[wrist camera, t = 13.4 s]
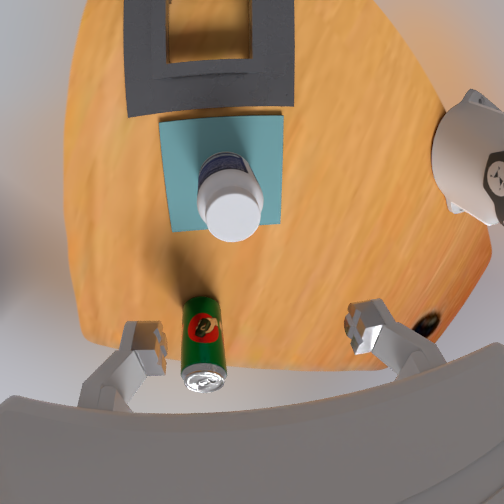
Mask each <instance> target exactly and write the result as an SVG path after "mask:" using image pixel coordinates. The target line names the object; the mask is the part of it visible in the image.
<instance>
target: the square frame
mask: <svg viewBox="0 0 504 504" xmlns="http://www.w3.org/2000/svg"><path fill="white" fill-rule="evenodd" d="M169 4H171V0H124V68H125V86H126V100H127V112H128V118H130V117H136V116H142V115H149V114H156V113H163V112H172V111H181V110H191V109H203V108H218V107H239V106H293V107H294V60H295V39H294V0H249V59H219V60H202V61H190V62H180V63H171V64H169Z"/></svg>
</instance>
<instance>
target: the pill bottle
mask: <svg viewBox="0 0 504 504" xmlns="http://www.w3.org/2000/svg"><path fill="white" fill-rule="evenodd" d="M263 202H264V199H263V193H262V190H261V187H260V185H259V183H258V181H257V179H256V177H255V175H254V173H253V171H252V169H251V167H250V165H249V164H248V162H247V161H246V160H245V159H244V158H243V157H242V156H240V155H238V154H236V153H233V152H219V153H216V154H213V155H212V156H210V157H209V158H207V159H206V160H205V162H204V163H203V164H202V166H201V168H200V171H199V177H198V192H197V208H198V212H199V214H200V216H201V218H202V220H203V221H204V222H205V223H206V224H207V227H208V229H209V231H210V232H211V233H212V234H213V235H214V236H215V237H216V238H218V239H220V240H223V241H227V242H237V241H241V240H244V239H246V238H248V237H249V236H251V235H252V234H253V233H254V232H255V231H256V229H257V228H258V226H259V223H260V219H261V211H262V208H263Z"/></svg>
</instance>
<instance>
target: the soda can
mask: <svg viewBox="0 0 504 504" xmlns="http://www.w3.org/2000/svg"><path fill="white" fill-rule="evenodd" d="M181 377H182V379H183V380H184V383H185V386H186V387H187V388H188V389H190V390H192V391H195V392H202V393H207V392H213V391H216V390H219V389H220V388H221V387H222V386H223V385H224V380H225V379H226V377H227V369H226V359H225V349H224V339H223V329H222V318H221V309H220V306H219V304H218V303H217V302H216V301H215V300H213V299H211V298H209V297H205V296H198V297H194V298H192V299H190V300H188V301H187V302H186V303H185V305H184V307H183V316H182V341H181Z"/></svg>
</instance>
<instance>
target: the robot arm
mask: <svg viewBox="0 0 504 504" xmlns="http://www.w3.org/2000/svg"><path fill="white" fill-rule="evenodd" d="M432 169H433V175H434V178H435V181H436V183H437V185H438V187H439V189H440V190H441V191H442V193H443V194H444V195H445V197H446V201H447V206H448V209H449V211H450V212H452V213H454V214H457V213H461V212H464V211H466V212H467V213H469V214H470V215H472V216H474V217H475V218H477V219H478V220H480V221H481V222H483V223H484V224H486V225H488V226H491V225H492V224H493V225H494V224H497V223H499V222H500V223H501V224H502V225H503V226H504V112H502V111H501V110H499V108H497V107H496V106H495V105H494V104H493V103H492V102H490V101H489V100H488V99H487V98H485V97H484V96H483V95H482V94H481V93H479V92H478V91H476V90H473V89H470V90H469V91H468V92H467V93H466V95H465V97H464V98H463V100H462V101H461V102H460V103H459V104H457V105H455V106H454V107H453V108H451V109H450V110H449V111H448V112H447V113H446V114H445V116H444V117H443V119H442V120H441V122H440V124H439V126H438V128H437V131H436V134H435V137H434V142H433V148H432ZM348 312H349V313H348V314H347V315H346V316H345V320H344V328H345V332H346V335H347V336H348V337H349V338H351V339H352V341H351V343H350V344H351V346H352V348H353V351H354V353H355V355H357V354H362V353H367V352H372V353H373V354H374V355H375V356H376V357H378V358H379V359H380V360H381V361H382V362H384V363H385V364H386V365H387V366H388V367H390V368H391V369H392V370H393V371H394V372H396V373H397V374H398V376H397V377H396V379H395V381H393V382H390V383H387V384H383V385H380V386H376V387H373V388H369V389H365V390H361V391H357V392H353V393H349V394H344V395H340V396H335V397H330V398H325V399H321V400H315V401H310V402H304V403H298V404H292V405H285V406H278V407H271V408H263V409H254V410H244V411H233V412H216V413H191V414H155V413H133V412H132V410H131V409H130V408H129V406H128V405H127V404H128V402H129V401H130V400H131V398H132V397H133V396H134V394H135V393H136V391H137V390H138V388H139V387H140V385H141V384H142V383H143V382H144V380H145V379H146V378H147V376H161V375H165V373H166V360H165V358H164V357H165V356H166V355H167V350H168V347H167V338H166V335H165V333H163V332H162V330H163V326H162V323H161V321H127V322H126V324H125V326H124V330H123V334H122V339H121V343H120V347H119V350H117V351H115V352H114V353H113V354H112V355H111V356H110V357H109V358H108V359H107V360H106V361H105V362H104V363H103V364H102V365H101V366H100V367H99V368H98V369H97V370H96V371H95V372H94V373H93V374H92V375H91V376H90V377H89V378H88V379H87V380H86V381H85V382H84V383H83V385H82V389H81V393H80V397H79V402H78V406H77V407H73V406H66V405H61V404H55V403H49V402H44V401H39V400H34V399H29V398H25V397H21V396H16V395H13V396H10V397H9V398H7V399H6V400H5V401H4V402H2V403H1V404H0V504H504V345H502V344H500V343H498V342H496V343H492V344H490V345H487V346H485V347H483V348H481V349H479V350H477V351H474V352H472V353H470V354H468V355H465V356H463V357H460V358H458V359H456V360H453V361H451V362H448V363H447V362H446V361H445V359H444V357H443V355H442V354H441V352H440V351H439V349H438V347H437V345H436V344H434V343H433V342H431V341H429V340H428V339H426V338H424V337H423V336H421V335H419V334H418V333H416V332H414V331H413V330H411V329H409V328H408V327H406V326H404V325H403V324H401V323H399V322H395V320H394V318H393V317H392V315H391V314H390V312H389V310H388V309H387V307H386V306H385V304H384V302H383V301H382V299H380V298H378V299H372V300H366V301H360V302H354V303H350V304H349V306H348Z"/></svg>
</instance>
